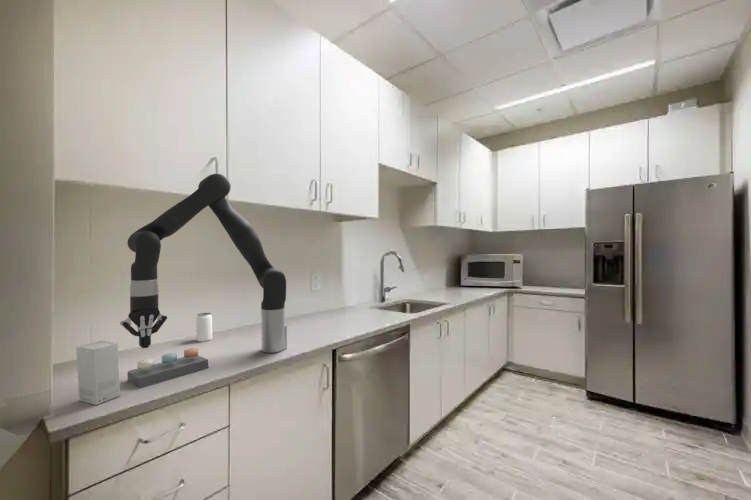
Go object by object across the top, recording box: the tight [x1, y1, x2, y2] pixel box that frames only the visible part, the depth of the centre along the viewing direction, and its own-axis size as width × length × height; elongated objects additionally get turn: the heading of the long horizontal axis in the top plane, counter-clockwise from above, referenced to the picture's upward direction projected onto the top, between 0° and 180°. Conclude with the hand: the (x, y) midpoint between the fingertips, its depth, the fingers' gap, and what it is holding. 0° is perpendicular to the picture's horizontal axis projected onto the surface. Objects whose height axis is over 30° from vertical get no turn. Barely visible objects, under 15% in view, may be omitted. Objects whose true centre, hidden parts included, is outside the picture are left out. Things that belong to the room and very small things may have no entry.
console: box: [127, 355, 209, 389], centre depth 114 cm, size 21×10×3 cm, turn 143°
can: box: [195, 312, 213, 343], centre depth 155 cm, size 6×6×12 cm
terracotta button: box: [183, 347, 199, 358], centre depth 120 cm, size 4×4×2 cm
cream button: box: [136, 358, 155, 370], centre depth 109 cm, size 4×4×2 cm
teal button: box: [161, 352, 178, 364], centre depth 114 cm, size 4×4×2 cm
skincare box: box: [75, 340, 121, 406], centre depth 96 cm, size 8×7×16 cm
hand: (144, 347), depth 109 cm, fingers closed
